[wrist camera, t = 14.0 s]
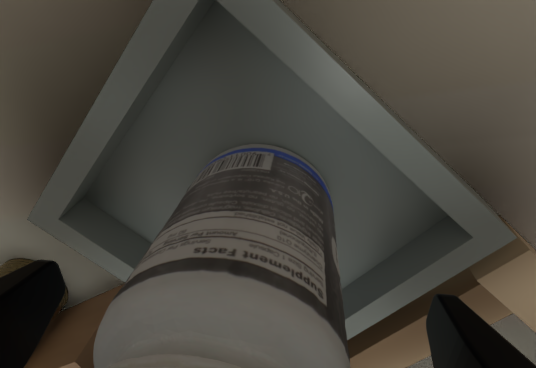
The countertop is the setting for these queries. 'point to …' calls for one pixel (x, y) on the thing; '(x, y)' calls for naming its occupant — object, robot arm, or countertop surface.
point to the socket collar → (469, 291)
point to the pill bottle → (236, 274)
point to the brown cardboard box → (72, 335)
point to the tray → (262, 132)
